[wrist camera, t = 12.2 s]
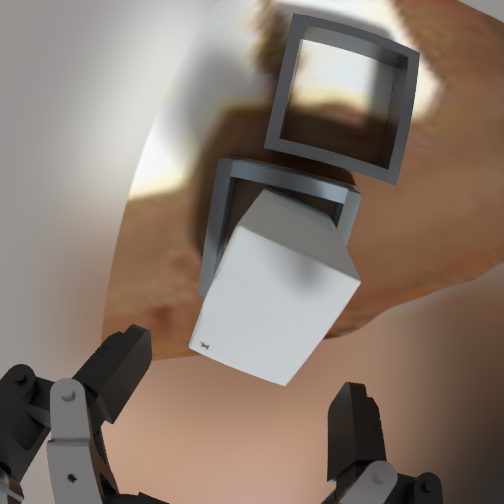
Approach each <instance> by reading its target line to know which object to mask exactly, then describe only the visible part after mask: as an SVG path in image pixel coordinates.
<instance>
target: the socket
mask: <svg viewBox="0 0 504 504" xmlns="http://www.w3.org/2000/svg"><path fill="white" fill-rule="evenodd" d="M303 39H304V40H309V41H314V42H318V43H322V44H326V45H330V46H334V47H338V48H341V49H345V50H348V51H352V52H355V53H358V54H361V55H364V56H367V57H370V58H373V59H376V60H379V61H381V62H384V63H387V64H389V65H392V66H394V67H396V69H395V76H394V83H393V89H392V95H391V101H390V106H389V112H388V117H387V122H386V127H385V132H384V136H383V141H382V145H381V150H380V154H379V158H378V162H377V166H376V165H373V164H370V163H367V162H364V161H361V160H358V159H354V158H351V157H348V156H345V155H341V154H338V153H334V152H331V151H327V150H324V149H320V148H316V147H312V146H309V145H305V144H301V143H296V142H292V141H288V140H283V139H282V135H283V131H284V126H285V121H286V117H287V112H288V108H289V103H290V98H291V94H292V89H293V85H294V80H295V75H296V71H297V66H298V61H299V57H300V52H301V47H302V43H303ZM419 57H420V53H419V52H417V51H415V50H413V49H410V48H408V47H406V46H403V45H401V44H399V43H396V42H394V41H391V40H389V39H386V38H384V37H381V36H378V35H375V34H373V33H370V32H367V31H364V30H360V29H357V28H354V27H351V26H347V25H344V24H340V23H336V22H332V21H328V20H324V19H320V18H315V17H310V16H305V15H300V14H294V13H293V18H292V22H291V26H290V31H289V35H288V40H287V44H286V48H285V53H284V57H283V62H282V66H281V71H280V75H279V80H278V84H277V89H276V93H275V98H274V103H273V107H272V112H271V116H270V121H269V126H268V130H267V135H266V140H265V144H264V148H266V149H270V150H275V151H280V152H284V153H288V154H292V155H297V156H301V157H305V158H309V159H312V160H316V161H320V162H324V163H327V164H331V165H334V166H338V167H341V168H345V169H348V170H351V171H355V172H358V173H361V174H364V175H367V176H370V177H373V178H376V179H379V180H382V181H385V182H388V183H391V184H393V185H396V183H397V179H398V175H399V171H400V167H401V163H402V159H403V155H404V151H405V146H406V142H407V137H408V132H409V127H410V122H411V116H412V111H413V105H414V98H415V92H416V84H417V76H418V67H419Z"/></svg>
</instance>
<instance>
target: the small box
mask: <svg viewBox="0 0 504 504" xmlns="http://www.w3.org/2000/svg"><path fill="white" fill-rule="evenodd" d="M360 284H361V280H360V277H359V275H358V273H357V271H356V269H355V266H354V264H353V262H352V260H351V258H350V255H349V253H348V251H347V249H346V247H345V245H344V243H343V241H342V239H341V237H340V235H339V233H338V231H337V229H336V227H335V225H334V223H333V221H332V219H331V217H330V215H329V214H327V213H325V212H323V211H320V210H318V209H316V208H314V207H312V206H310V205H308V204H306V203H304V202H302V201H300V200H298V199H295V198H293V197H291V196H289V195H287V194H285V193H282V192H280V191H278V190H276V189H274V188H271V187H269V186H266V187H265V188H264V189H263V191H262V192H261V194H260V195H259V196H258V197H257V198H256V200H255V201H254V202H253V204H252V205H251V206H250V208H249V209H248V210H247V212H246V213H245V214H244V216H243V217H242V218H241V220H240V221H239V222H238V224H237V225H236V227H235V229H234V231H233V233H232V236H231V238H230V240H229V243H228V245H227V247H226V250H225V252H224V254H223V257H222V259H221V262H220V264H219V266H218V269H217V271H216V273H215V276H214V278H213V281H212V283H211V285H210V288H209V290H208V292H207V295H206V297H205V300H204V303H203V305H202V307H201V311H200V315H199V318H198V321H197V324H196V326H195V329H194V332H193V335H192V337H191V340H190V343H189V348H190V349H193V350H195V351H197V352H199V353H201V354H203V355H205V356H207V357H209V358H212V359H214V360H216V361H219V362H221V363H223V364H225V365H228V366H230V367H233V368H235V369H238V370H240V371H243V372H246V373H248V374H251V375H254V376H257V377H259V378H262V379H265V380H268V381H271V382H274V383H277V384H280V385H283V386H286V385H287V384H288V383H289V382H290V381H291V379H292V378H293V377H294V376H295V375H296V373H297V372H298V371H299V369H300V368H301V367H302V366H303V365H304V363H305V362H306V360H307V359H308V358H309V357H310V355H311V354H312V353H313V351H314V350H315V349H316V347H317V346H318V345H319V344H320V342H321V341H322V340H323V338H324V337H325V335H326V334H327V333H328V331H329V330H330V329H331V327H332V326H333V324H334V323H335V321H336V320H337V319H338V317H339V316H340V314H341V313H342V311H343V310H344V308H345V307H346V305H347V304H348V302H349V301H350V299H351V298H352V296H353V295H354V293H355V292H356V290H357V288H358V287H359V285H360Z"/></svg>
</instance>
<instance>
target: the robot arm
mask: <svg viewBox="0 0 504 504" xmlns="http://www.w3.org/2000/svg"><path fill="white" fill-rule="evenodd" d="M151 360H152V348H151V332H150V330H147V329H145V328H142V327H139V326H137V325H134V324H133V325H131V326H130V327H129V328H128V329H127V330H126V332H125V333H121V332H119V331H118V332H117V333H115V334H113V335H111V336H109V337H108V338H107V339H106V340H105V341H104V342H103V343H102V344H101V347H99V348H98V349H97V350H96V351H95V353H93V355H92V356H91V357H90V358H89V359H88V360H87V361H86V363H85V364H84V365H83V366H82V367H81V368H80V370H79V371H78V372H77V373H76V374H75V375H74V377H72V378H63V379H60V380H58V381H56V382H52V381H49V380H46V379H42V378H39V377H36V375H35V373H34V371H33V370H32V369H31V368H30V367H29V366H27V365H24V364H19V365H15V366H13V367H12V368H11V369H10V370H9V371H8V372H7V373H6V374H5V375H4V376H3V378H2V379H1V380H0V504H21V503H22V501H23V500H24V495H23V491H22V488H21V485H20V482H21V480H22V478H23V476H24V474H25V473H26V471H27V469H28V467H29V466H30V464H31V462H32V460H33V459H34V457H35V455H36V454H37V452H38V450H39V449H40V447H41V445H42V444H43V442H44V440H45V439H46V437H47V436H48V434H49V432H50V431H51V435H52V437H51V440H49V441H48V442H47V458H48V466H49V472H50V478H51V484H52V489H53V494H54V499H55V504H169V503H166V502H164V501H161V500H158V499H156V498H153V497H150V496H148V495H146V494H143V493H141V492H139V494H138V496H137V495H130V494H120V493H119V490H118V487H117V484H116V481H115V478H114V476H113V473H112V471H111V469H110V466H109V462H108V459H107V454H106V449H105V445H104V440H103V435H102V430H101V425H102V424H103V422H104V421H107V422H109V423H111V424H113V423H114V422H115V420H116V419H117V417H118V416H119V414H120V412H121V411H122V409H123V408H124V406H125V404H126V403H127V401H128V400H129V398H130V397H131V395H132V393H133V392H134V390H135V389H136V387H137V385H138V384H139V382H140V381H141V379H142V378H143V376H144V374H145V373H146V371H147V370H148V368H149V366H150V363H151ZM381 427H382V425H381V420H380V414H379V408H378V406H377V404H376V403H375V401H374V399H373V398H371V397H367V393H366V388H365V385H364V384H359V383H351V382H346V383H345V384H344V385H343V386H342V388H341V390H340V391H339V392H338V394H337V395H336V397H335V398H334V400H333V401H332V403H331V405H330V407H329V411H328V470H327V482H336V489H334V490H333V491H332V493H331V494H330V495H329V496H328V497H327V498H326V499H325V500H324V501H323V502H322V503H321V504H443V497H442V487H441V482H440V479H439V478H438V477H437V476H436V475H435V474H433V473H430V472H427V473H423V474H421V475H419V476H418V477H411V476H407V475H402V474H399V473H397V471H396V469H395V468H394V466H393V465H391V464H390V463H388V462H387V460H386V453H385V445H384V439H383V432H382V429H381Z"/></svg>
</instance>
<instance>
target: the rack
mask: <svg viewBox="0 0 504 504" xmlns="http://www.w3.org/2000/svg"><path fill="white" fill-rule="evenodd" d="M266 186H269V187H271V188H274V189H276V190H278V191H280V192H282V193H285V194H287V195H289V196H291V197H293V198H295V199H298V200H300V201H302V202H304V203H306V204H308V205H310V206H312V207H314V208H316V209H318V210H320V211H323V212H325V213H327V214H329V215H330V217H331V219H332V221H333V223H334V225H335V227H336V229H337V231H338V233H339V235H340V237H341V239H342V241H343V243H344V245H345V247H346V246H347V243H348V240H349V237H350V234H351V230H352V227H353V224H354V221H355V218H356V214H357V211H358V207H359V204H360V201H361V197H362V194H360V193H359V192H358V191H357V190H358V186H356V185H354V184H350V183H347V182H344V181H340V180H337V179H333V178H330V177H326V176H323V175H319V174H315V173H311V172H307V171H304V170H300V169H296V168H291V167H287V166H283V165H279V164H274V163H270V162H265V161H261V160H256V159H251V158H246V157H241V156H236V155H230V154H225V156H224V159H219V160H218V163H217V169H216V174H215V180H214V186H213V192H212V198H211V204H210V210H209V217H208V223H207V230H206V237H205V244H204V251H203V258H202V266H201V273H200V281H199V290H198V296H201V297H206V295H207V292H208V290H209V288H210V285H211V283H212V281H213V278H214V276H215V273H216V271H217V269H218V266H219V264H220V262H221V259H222V257H223V254H224V252H225V250H226V247H227V245H228V243H229V240H230V238H231V236H232V233H233V231H234V229H235V227H236V225H237V224H238V222H239V221H240V220H241V218H242V217H243V216H244V214H245V213H246V212H247V210H248V209H249V208H250V206H251V205H252V204H253V202H254V201H255V200H256V198H257V197H258V196H259V195H260V194H261V192H262V191H263V189H264V188H265V187H266Z"/></svg>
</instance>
